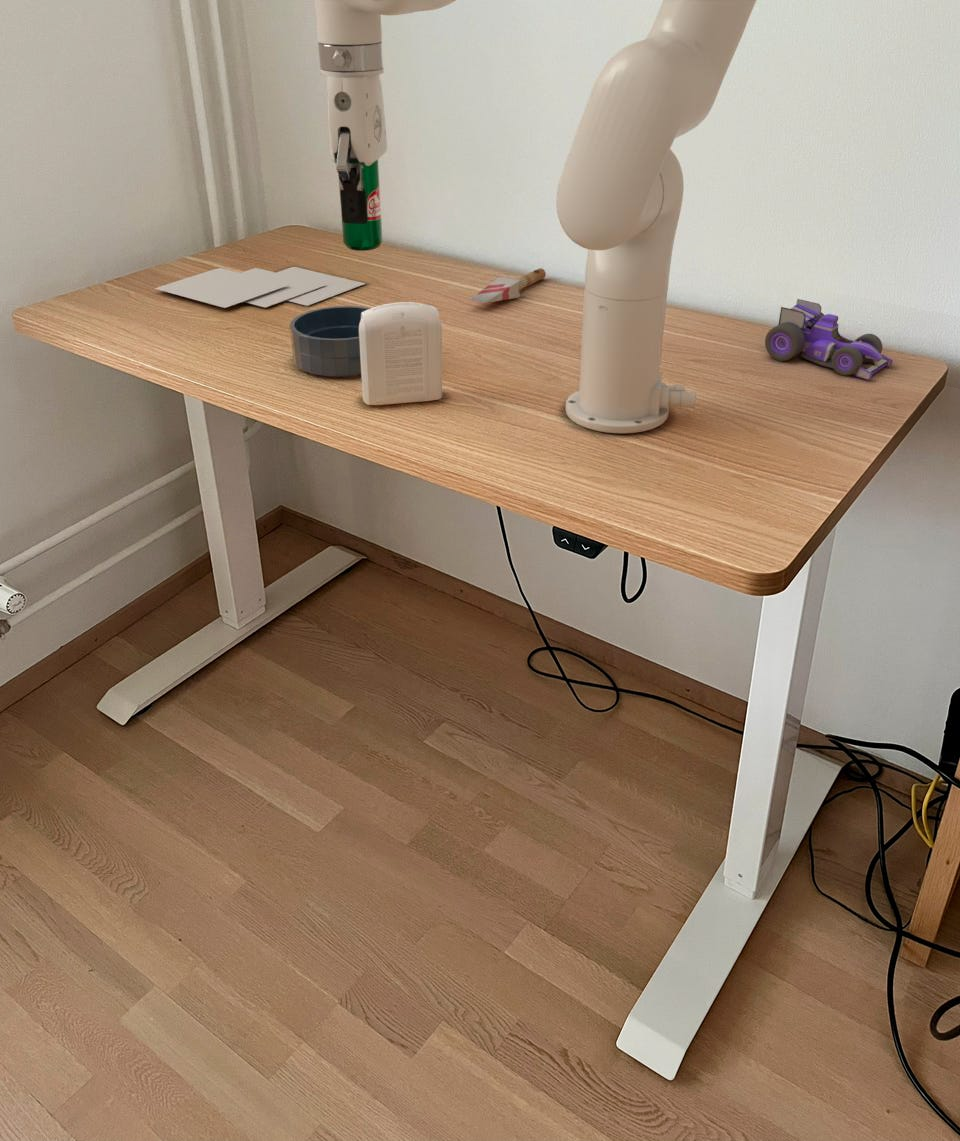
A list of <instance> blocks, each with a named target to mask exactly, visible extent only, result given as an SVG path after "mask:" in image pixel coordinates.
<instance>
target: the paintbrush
mask: <svg viewBox="0 0 960 1141" xmlns="http://www.w3.org/2000/svg"><path fill="white" fill-rule="evenodd" d="M546 276H547V273H546V270H545V269H544V268H541V267H540V268H537V269H534V270H533V271H530V272H528V273H525V274H523V275H520V276H518V277H515V278H510V277H504V276H499V277H497V278H496V279H495V280H494V281H492V282H491V283H490V284H488V285H487V286H486V287H485V288H483V289H482V290H481V291H479V292H478V293H476V294H475V295H474V296H473V297H471V298H470V299H469V300H470V301H473V302H479V303H483V304H486V303H493V302H499V301H505V300H512V299H519V298H521V294H520V290H521V289H523V288H525V287H528V286H531V285H533V284H534V283H537V282H538V281H541V280H544V279H545V278H546Z"/></svg>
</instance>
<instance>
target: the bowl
mask: <svg viewBox="0 0 960 1141" xmlns="http://www.w3.org/2000/svg"><path fill="white" fill-rule="evenodd" d="M371 308H372V307H367V306H366V307H365V306H357V305H339V306H336V305H335V306H328V307H327V306H326V307H320V308H316V309H311V310H308V311H306V312H303V313H301V314H299V315H296V316H295V317H293V319H292V320H291V321H290V322H289V331H290V342H291V350H292V360H293V364H294V365H295V366H296V367H297V368H298V369H300V370H302V371H303V372H307V373H309V374H312V375H317V376H321V377H330V378H348V377H357V376H361V359H360V342H359V324H360V321H361V313H362V312H364V311H366V310H368V309H371Z"/></svg>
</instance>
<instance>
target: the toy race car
mask: <svg viewBox="0 0 960 1141" xmlns="http://www.w3.org/2000/svg"><path fill="white" fill-rule="evenodd" d="M838 320H839V316H838V315H835V314H831V313H827V314H824V313H823V312H822V306H821V304H820V303H818V302H813V301H808V300H805V299H800V298H797V299H796V303H795V305H793V307H791V308H788V307H784V306H781V307H780V312H779V319H778V324H777V325H776V326H773V327H772V328H771V329H770V330H768V332H767V333H766V335H765V339H764V346H765V349H766V352H767V354H768V355H769V356H770V357H771V358H772V359H774V360H776V361H780V362H785V361H789V360H790V359H792V358H794V357H796V356H798V355H800V358H802V359H805V360H806V361H810V362H811V363H812V362H813V363H815V364H817V365H819V366H823V367H827V368H829V369H833V370H834V371H835V373H837V374H839V375H841V376H851V375H852V374H854V373H856V374H855V377H857V378H860V379H864V380H867V381H871V380H872V377H873V375H874V374H875V373H876V372H878V371H880V370H881V369H883V368H885V367H891V366H892V365H893V361H894V360H893V359H892V358H890V357H888V356H886V355H885V354H882V352H883V342H882V340H881V339H880V337H878V336H877V335H876V334H873V333H865V334H862V335H860V336H859V337H857V338H856V339H855V340H851V339H848V338H846V337H844V335H841V334H840V332H839V323H838ZM801 352H802V353H801ZM800 353H801V354H800ZM870 362H874V364H873V365H871V366H870V367H868V368H864V367H862V365H863V363H864V364H865V363H870Z"/></svg>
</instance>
